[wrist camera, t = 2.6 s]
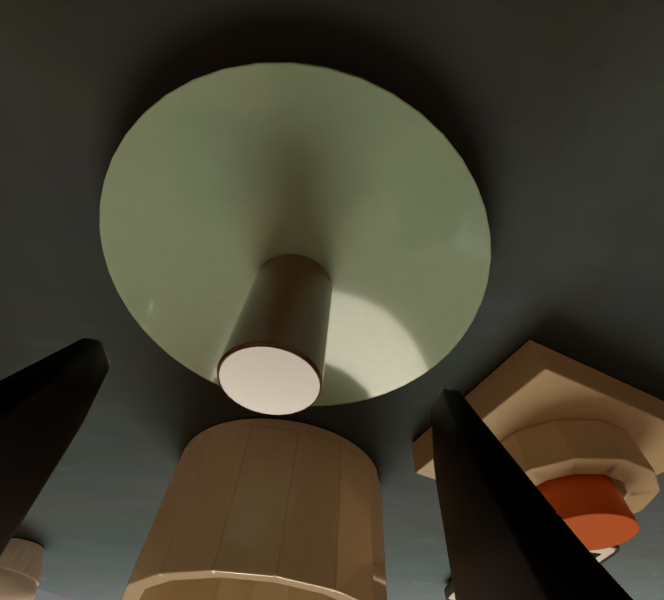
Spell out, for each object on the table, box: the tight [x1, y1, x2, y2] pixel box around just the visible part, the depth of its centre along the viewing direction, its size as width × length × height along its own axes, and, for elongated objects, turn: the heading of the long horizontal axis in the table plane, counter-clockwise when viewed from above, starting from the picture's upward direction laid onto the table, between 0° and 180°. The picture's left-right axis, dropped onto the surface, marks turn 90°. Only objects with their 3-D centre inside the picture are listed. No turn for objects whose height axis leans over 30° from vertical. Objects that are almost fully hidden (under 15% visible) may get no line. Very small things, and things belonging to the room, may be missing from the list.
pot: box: [122, 418, 387, 600], centre depth 20 cm, size 13×13×7 cm
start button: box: [536, 474, 639, 551], centre depth 16 cm, size 4×4×2 cm
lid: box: [99, 62, 491, 415], centre depth 12 cm, size 14×14×6 cm
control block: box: [412, 340, 664, 514], centre depth 17 cm, size 10×9×4 cm
